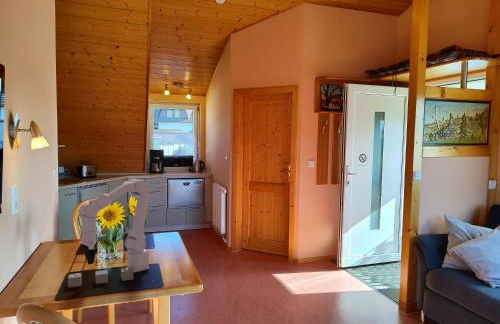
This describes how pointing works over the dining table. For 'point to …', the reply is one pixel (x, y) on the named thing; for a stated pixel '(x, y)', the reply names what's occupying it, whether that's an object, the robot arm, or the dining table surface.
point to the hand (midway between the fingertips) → (89, 261)
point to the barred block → (127, 273)
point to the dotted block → (74, 280)
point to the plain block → (101, 276)
